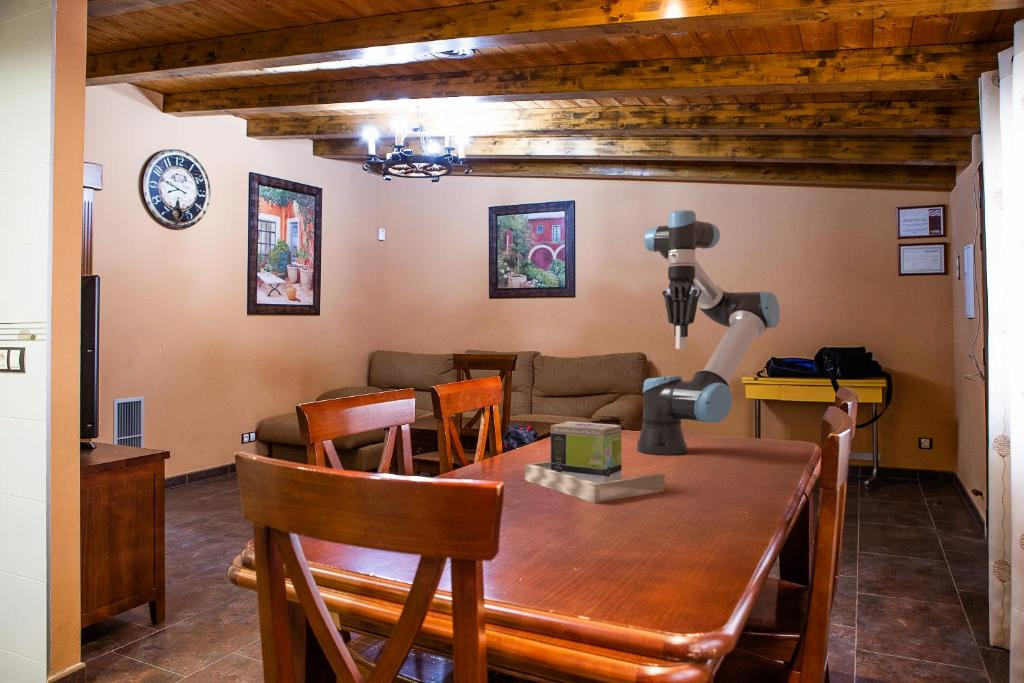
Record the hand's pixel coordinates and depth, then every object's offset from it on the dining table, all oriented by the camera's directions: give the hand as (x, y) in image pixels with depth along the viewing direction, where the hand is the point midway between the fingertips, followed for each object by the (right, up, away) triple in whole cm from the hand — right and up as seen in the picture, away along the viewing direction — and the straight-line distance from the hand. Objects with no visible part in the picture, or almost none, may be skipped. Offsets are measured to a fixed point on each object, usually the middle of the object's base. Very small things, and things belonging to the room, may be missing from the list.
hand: (680, 348), depth 204 cm
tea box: (-30, -33, -28) cm, 53 cm away
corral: (-28, -33, -30) cm, 52 cm away
